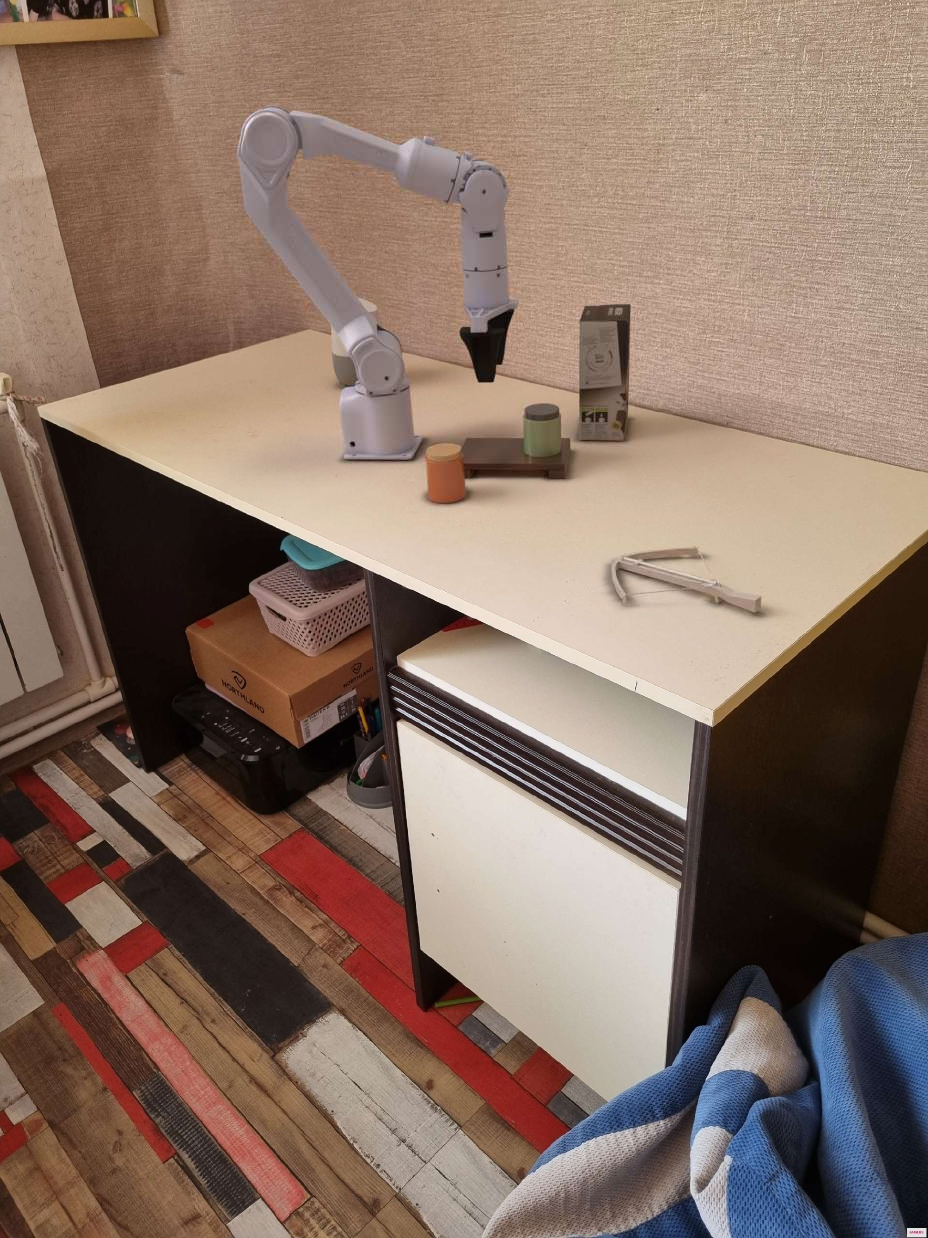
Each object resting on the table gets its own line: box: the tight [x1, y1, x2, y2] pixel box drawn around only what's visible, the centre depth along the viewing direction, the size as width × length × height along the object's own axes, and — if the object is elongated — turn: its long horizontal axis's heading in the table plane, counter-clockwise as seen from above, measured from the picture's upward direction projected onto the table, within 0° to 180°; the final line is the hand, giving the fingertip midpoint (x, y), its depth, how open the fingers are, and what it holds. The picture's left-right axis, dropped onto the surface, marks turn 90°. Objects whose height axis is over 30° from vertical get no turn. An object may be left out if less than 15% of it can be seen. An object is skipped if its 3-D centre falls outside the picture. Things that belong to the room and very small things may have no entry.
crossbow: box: [610, 545, 762, 614], centre depth 93 cm, size 16×13×2 cm
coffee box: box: [578, 303, 632, 442], centre depth 128 cm, size 9×6×16 cm
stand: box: [461, 437, 572, 480], centre depth 123 cm, size 14×9×2 cm, turn 80°
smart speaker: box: [330, 297, 383, 387], centre depth 154 cm, size 10×9×14 cm
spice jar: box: [424, 442, 467, 504], centre depth 115 cm, size 5×5×6 cm
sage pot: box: [522, 402, 562, 457], centre depth 120 cm, size 5×5×6 cm
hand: (490, 372), depth 127 cm, fingers open, 7 cm apart
